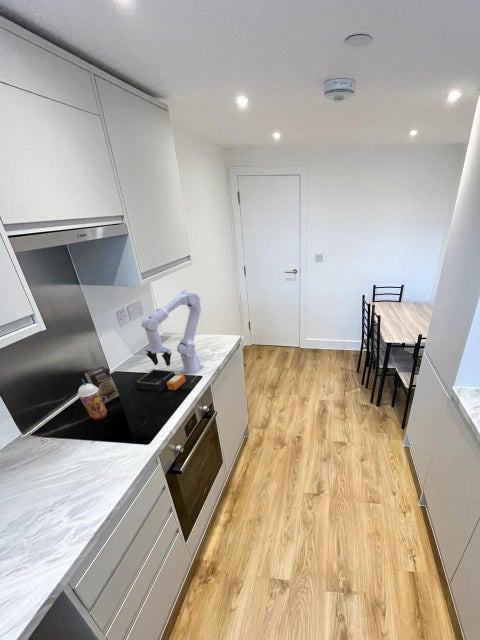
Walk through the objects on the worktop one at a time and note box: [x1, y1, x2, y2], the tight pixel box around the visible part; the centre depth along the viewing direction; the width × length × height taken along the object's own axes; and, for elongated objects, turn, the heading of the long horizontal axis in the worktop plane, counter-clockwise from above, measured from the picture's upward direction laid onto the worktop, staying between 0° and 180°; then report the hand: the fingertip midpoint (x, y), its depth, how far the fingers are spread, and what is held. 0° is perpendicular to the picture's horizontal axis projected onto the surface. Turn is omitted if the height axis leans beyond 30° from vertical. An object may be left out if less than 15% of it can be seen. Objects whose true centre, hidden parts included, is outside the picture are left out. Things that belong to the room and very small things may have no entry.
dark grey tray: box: [135, 368, 176, 392], centre depth 174 cm, size 15×14×4 cm
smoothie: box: [77, 378, 108, 421], centre depth 146 cm, size 8×8×20 cm
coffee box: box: [84, 365, 120, 405], centre depth 160 cm, size 9×6×16 cm
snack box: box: [166, 373, 187, 391], centre depth 171 cm, size 10×4×4 cm, turn 164°
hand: (162, 364), depth 173 cm, fingers open, 7 cm apart
